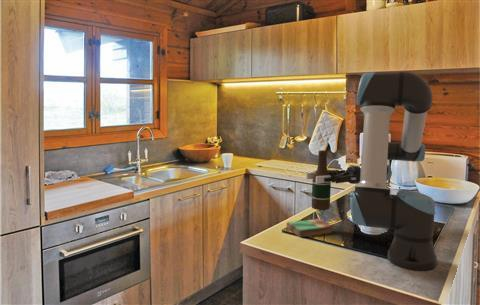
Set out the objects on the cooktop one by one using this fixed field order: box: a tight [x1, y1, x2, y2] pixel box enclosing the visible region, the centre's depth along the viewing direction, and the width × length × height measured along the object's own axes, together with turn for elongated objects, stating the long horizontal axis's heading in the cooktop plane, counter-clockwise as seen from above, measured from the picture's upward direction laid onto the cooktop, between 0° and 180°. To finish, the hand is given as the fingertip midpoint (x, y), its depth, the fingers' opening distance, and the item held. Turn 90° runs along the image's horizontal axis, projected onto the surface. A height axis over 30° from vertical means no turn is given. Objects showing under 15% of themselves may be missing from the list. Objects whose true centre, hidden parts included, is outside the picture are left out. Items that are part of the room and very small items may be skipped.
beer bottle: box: [311, 150, 332, 211], centre depth 162 cm, size 8×8×24 cm
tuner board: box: [286, 218, 333, 238], centre depth 162 cm, size 11×15×3 cm
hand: (311, 177), depth 160 cm, fingers closed on beer bottle, 7 cm apart
